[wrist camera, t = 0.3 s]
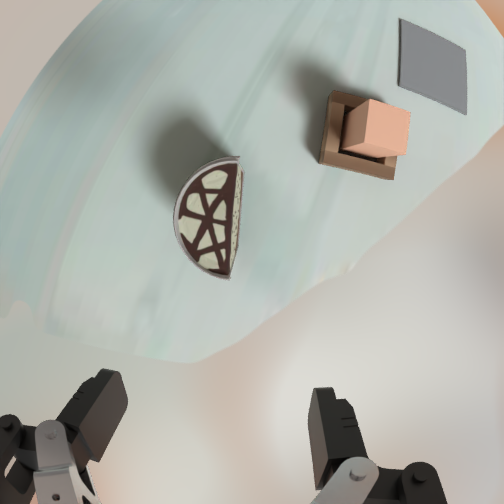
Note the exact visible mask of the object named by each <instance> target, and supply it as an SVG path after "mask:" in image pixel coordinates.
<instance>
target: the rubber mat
mask: <svg viewBox="0 0 504 504" xmlns="http://www.w3.org/2000/svg"><path fill="white" fill-rule="evenodd" d="M400 21H401V49H400V76H399V87H402V88H405V89H408V90H410V91H413V92H415V93H418V94H420V95H423V96H425V97H427V98H430V99H432V100H434V101H437V102H439V103H441V104H443V105H446V106H448V107H450V108H452V109H454V110H456V111H458V112H460V113H462V114H464V115H467V66H466V51H465V50H464V49H463V48H461V47H459V46H457V45H456V44H454V43H452V42H450V41H448V40H446V39H444V38H442V37H440V36H438V35H436V34H434V33H432V32H430V31H428V30H426V29H423V28H421V27H419V26H417V25H414V24H412V23H410V22H407V21H405V20H402V19H401V20H400Z"/></svg>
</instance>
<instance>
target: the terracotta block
mask: <svg viewBox="0 0 504 504" xmlns="http://www.w3.org/2000/svg"><path fill="white" fill-rule="evenodd" d="M409 123H410V112H408V111H406V110H403V109H400V108H397V107H394V106H391V105H388V104H385V103H382V102H379V101H376V100H373V99H368V100H367V101H365V102H364V103H362V104H361V105H359V106H358V107H357V108H355V109H354V110H352V111H351V112H349V113H348V114H347V115H345V116H344V117H343V124H342V131H341V138H340V144H339V150H340V151H345V152H349V153H353V154H357V155H361V156H365V157H368V158H379V157H388V156H398V155H406V149H407V141H408V132H409Z"/></svg>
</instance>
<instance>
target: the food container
mask: <svg viewBox="0 0 504 504" xmlns="http://www.w3.org/2000/svg"><path fill="white" fill-rule="evenodd" d="M239 158H240V156H229V157H223V158H219V159H216V160H213V161H211V162H209V163H207V164H205V165H203V166H202V167H200V168H199V169H198V170H196V171H195V172H194V173H193V174H192V175H191V176H190V177H189V178H188V179H187V181H186V182H185V184H184V185H183V187H182V188H181V190H180V192H179V195H178V197H177V200H176V203H175V207H174V215H173V221H174V230H175V235H176V238H177V241H178V243H179V245H180V247H181V249H182V251H183V252H184V254H185V255H186V256H187V258H188V259H189V260H190V261H191V262H192V263H193V264H194V265H195V266H196V267H198V268H199V269H200V270H202V271H203V272H205V273H207V274H209V275H211V276H213V277H216V278H219V279H224V280H230V279H231V277H230V274H231V271H232V267H233V264H234V260H235V257H236V253H237V249H238V246H239V233H240V221H241V208H242V196H243V184H244V170H243V168H242V166H241V165H240V163H239Z"/></svg>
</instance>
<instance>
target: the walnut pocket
mask: <svg viewBox="0 0 504 504" xmlns="http://www.w3.org/2000/svg"><path fill="white" fill-rule="evenodd" d="M367 100H368V99H365V98H361V97H358V96H354V95H350V94H347V93H343V92H339V91H335V90H334V91H333V92H332V93H331V94H330V95H329V97H328V105H327V112H326V119H325V126H324V132H323V139H322V145H321V151H320V158H319V164H323V165H327V166H332V167H336V168H341V169H345V170H350V171H354V172H358V173H362V174H366V175H370V176H374V177H378V178H381V179H387V180H394V174H395V167H396V161H397V156H388V157H379V158H377V161H376V162H372V161H368V160H365V159H361V158H357V157H353V156H349V155H344V154H340V153H338V148H339V142H340V135H341V128H342V121H343V114H344V111H346V112H351V111H352V110H354V109H355V108H357V107H358V106H359V105H361V104H362V103H364V102H365V101H367Z"/></svg>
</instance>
